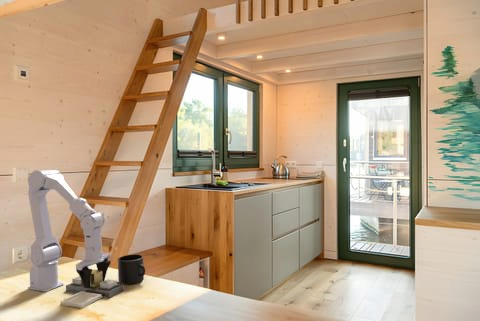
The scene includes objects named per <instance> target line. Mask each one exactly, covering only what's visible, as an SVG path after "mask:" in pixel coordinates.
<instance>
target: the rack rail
mask: <svg viewBox="0 0 480 321" xmlns="http://www.w3.org/2000/svg"><path fill="white" fill-rule="evenodd" d="M71 281H72V282H71V283H69V284H66V285H65V292H71V293H75V294H77V293H79V292H81V291H83V292H89V293H95V294H102V298H109V299H111V298H112V297H114V296H116V295H118V294H120V293H122V292H124V284H120V283H119V284H118V280H117V279H116V280H115V279H110V278H109V279H105V281H103V282H101V283H100V287H97V288H95V289H93V288H84V286H83V282H82V280H81V277H80V276H79V275H78V276H76V277H74V278H72V280H71Z"/></svg>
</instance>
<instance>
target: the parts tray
mask: <svg viewBox="0 0 480 321" xmlns="http://www.w3.org/2000/svg"><path fill="white" fill-rule="evenodd" d="M102 298H103V297H102V294H95V293H89V292H83V291H81V292H79V293H75V294H73V295H70V296H69V297H66V298H64V299H61V300H60V306H66V307H72V308H77V309H83V308H84V307H87V306H88V305H91V304H93V303H94V302H96V301H98V300H101V299H102Z"/></svg>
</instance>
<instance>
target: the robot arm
mask: <svg viewBox="0 0 480 321" xmlns="http://www.w3.org/2000/svg"><path fill="white" fill-rule="evenodd" d="M27 184H28V191H27V192H28V193H27V194H28V200H29V205H30V211H31V217H32V222H33V223H32V224H33V229H34V236H35V241H34V242H33V243H32V244H31V246H30V256H29V257H30V261H31V263H32V265H31V267H30V269H29V286H28V287H27V289H28V290H33V291H40V292H48V291H51V290H54V289H56V288H59V287H60V286H63V285H64V282H59V268H58V266H59V265H58V262H59V261H60V260H59V259H60V258H61V256H62V255H63V254H62V253H63V249H62V247H61V245H60V243H59V239H57V238H56V237H55V236H53V231H52V226H51V220H50V214H49V209H48V207H49V206H48V202H47V195H48V193H49V192H50V191H51V190H54V191H56V192H57V193H58V195H59V196H61V197H62V198H63V200H65V201H66V202H67V203H68V204H69V206H68V207H69V210H70V211H71V212H72V213H73V215H75V217H77V219H78V220H79V221H80V222H79V224H80V227H81V229H82V230H83V231H82V232H83V235H84V259H83V260H81V261H80V262H77V263H76V264H75V271H76V273H77V275H78V277H79V276H80V277H81V280H82V282H83V286H84V288H90V277H91V272H92V270H93V268H89V267H91V266H93V265H96V270H102V273H103V281H105V280H106V276H107V271H108V269H109V267H110V265H111V260H110V259H111V254H110V253H103V245H102V244H103V243H102V241H103V240H102V227H103V225H104V223H105V217H104V215H103V214H102V212H99V211H96V210H95V209H93V208H92V207H91V205H89V203H88V201H87V200H86V198H83V197H78V196H77V195H76V194H75V192H74V190H72V189H71V187H70V186H69V185H68V183H67V182H66V181H65V179H64V175H63V174H62V173H61V172H60V171H59V170H58V169H55V168H52V169H44V170H43V169H42V170H39V169H36V170H33V171H32V172H31V173H30V174H29V175H28V177H27Z"/></svg>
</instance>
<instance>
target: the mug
mask: <svg viewBox="0 0 480 321" xmlns="http://www.w3.org/2000/svg"><path fill="white" fill-rule="evenodd" d="M117 267H118V268H117V277H118V280H117V281H118V283H119V284H120V285H136V284H138V283H141V282H143V281H144V280H145V279H144V278H145V274H146V268H145V266H144V256H143V255H142V254H135V253H134V254H127V255H123V256H119V257H118V258H117Z"/></svg>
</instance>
